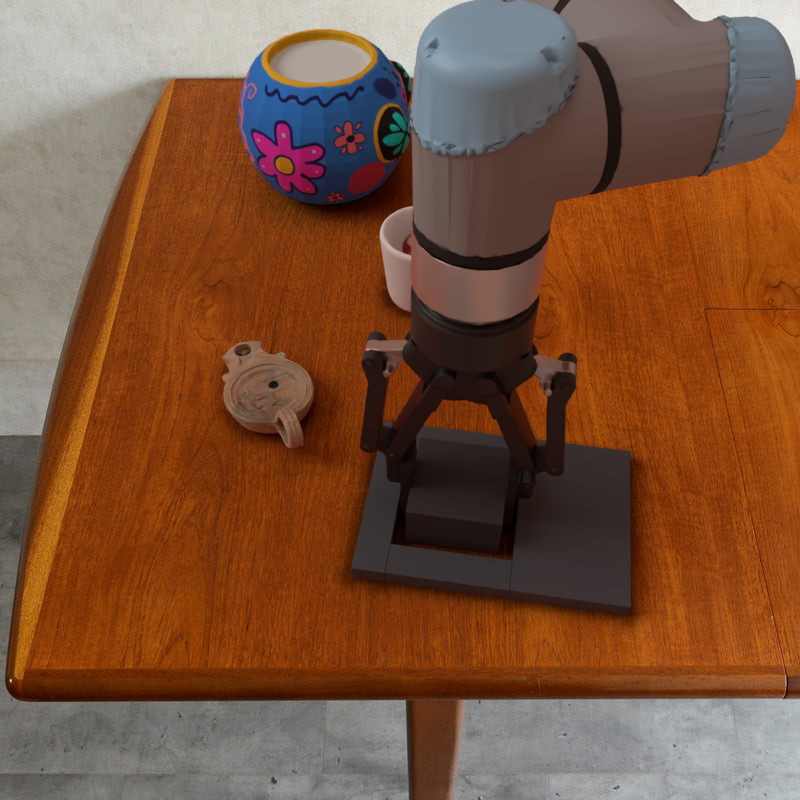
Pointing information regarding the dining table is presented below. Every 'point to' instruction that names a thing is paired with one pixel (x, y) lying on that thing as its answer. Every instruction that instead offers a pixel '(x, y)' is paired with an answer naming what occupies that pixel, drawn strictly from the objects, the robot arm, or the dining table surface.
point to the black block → (457, 495)
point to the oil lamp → (267, 391)
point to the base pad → (521, 535)
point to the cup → (398, 256)
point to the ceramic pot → (325, 115)
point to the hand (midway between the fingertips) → (457, 508)
